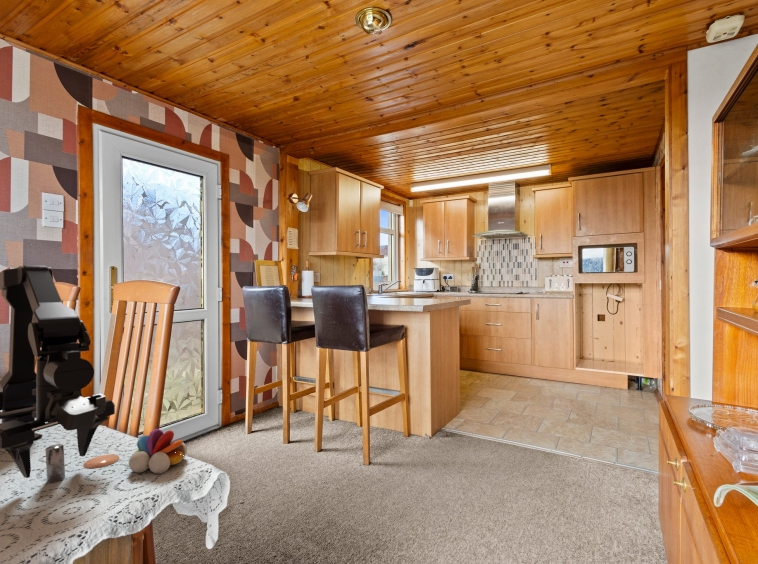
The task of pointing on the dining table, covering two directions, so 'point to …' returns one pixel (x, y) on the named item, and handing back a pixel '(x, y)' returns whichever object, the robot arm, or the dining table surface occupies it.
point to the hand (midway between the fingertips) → (56, 466)
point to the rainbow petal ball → (157, 452)
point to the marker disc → (101, 461)
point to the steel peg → (55, 463)
